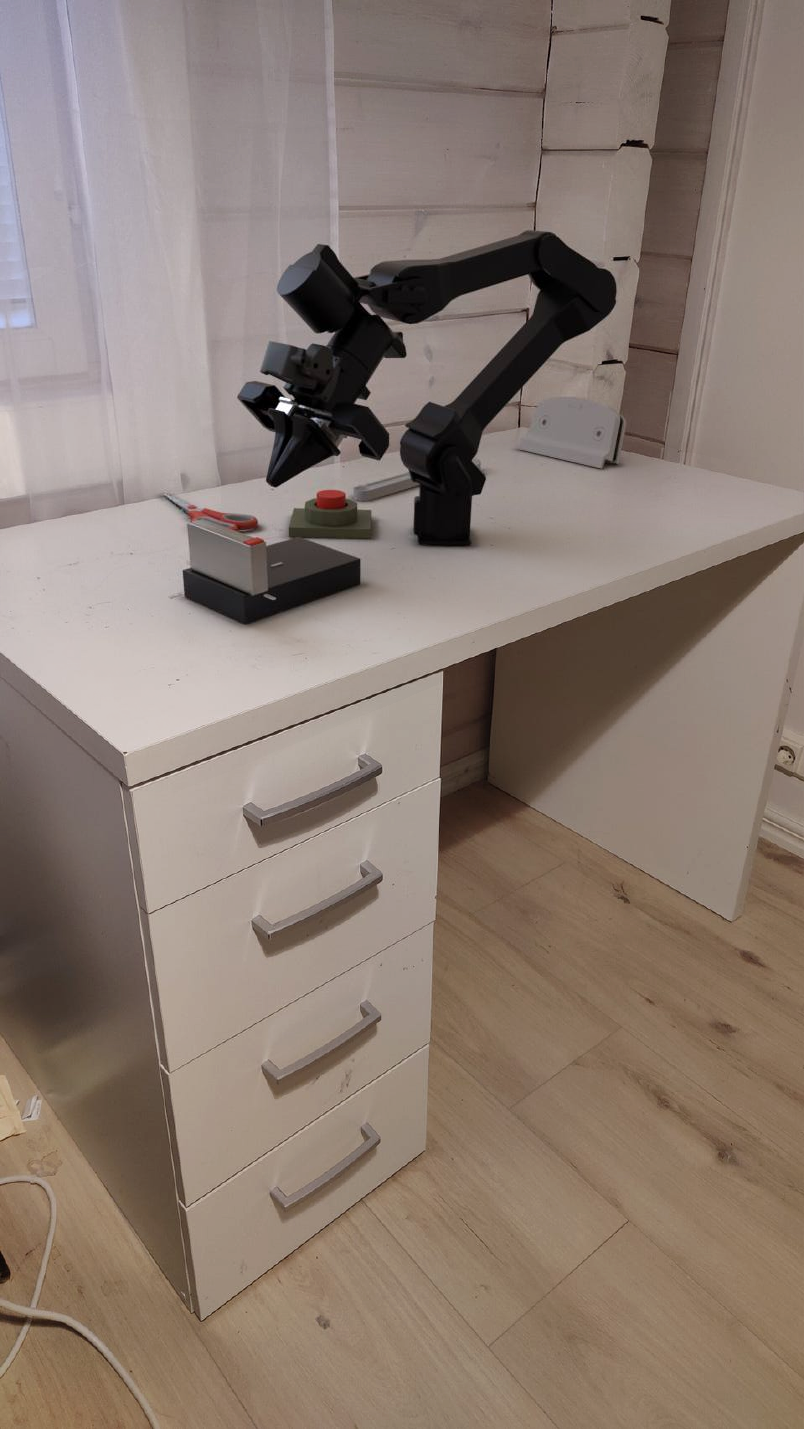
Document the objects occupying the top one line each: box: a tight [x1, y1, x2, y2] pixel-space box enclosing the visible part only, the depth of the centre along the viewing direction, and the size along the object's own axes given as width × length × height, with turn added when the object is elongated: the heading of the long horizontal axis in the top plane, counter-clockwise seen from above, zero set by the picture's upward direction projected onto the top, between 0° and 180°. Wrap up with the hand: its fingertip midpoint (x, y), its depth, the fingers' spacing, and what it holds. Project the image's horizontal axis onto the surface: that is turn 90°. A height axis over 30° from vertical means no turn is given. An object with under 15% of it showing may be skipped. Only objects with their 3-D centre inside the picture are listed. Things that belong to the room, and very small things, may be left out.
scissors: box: [162, 492, 259, 532], centre depth 129 cm, size 8×21×2 cm, turn 48°
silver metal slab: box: [186, 519, 268, 596], centre depth 100 cm, size 10×2×5 cm, turn 47°
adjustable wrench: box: [352, 457, 482, 502], centre depth 146 cm, size 25×6×2 cm, turn 133°
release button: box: [316, 489, 347, 509], centre depth 125 cm, size 4×4×2 cm
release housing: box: [288, 497, 373, 539], centre depth 126 cm, size 10×8×3 cm
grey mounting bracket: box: [518, 396, 627, 469], centre depth 161 cm, size 17×5×10 cm, turn 47°
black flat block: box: [168, 537, 362, 625], centre depth 105 cm, size 14×22×3 cm, turn 137°
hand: (270, 484), depth 106 cm, fingers closed
